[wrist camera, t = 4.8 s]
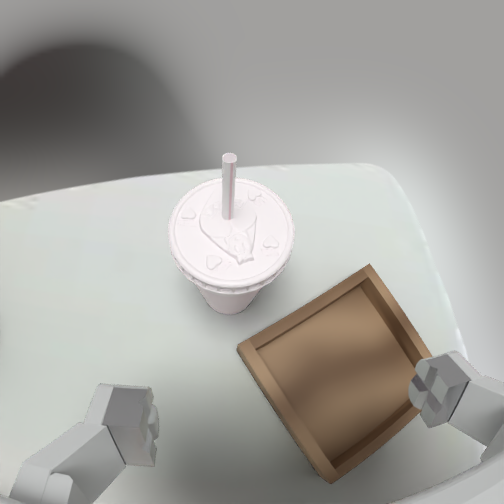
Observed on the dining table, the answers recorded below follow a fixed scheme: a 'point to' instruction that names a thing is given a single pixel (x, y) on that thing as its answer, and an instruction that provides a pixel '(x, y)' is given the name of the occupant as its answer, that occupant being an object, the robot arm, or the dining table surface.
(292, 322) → the tray
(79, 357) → the dining table surface
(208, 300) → the smoothie
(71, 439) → the robot arm
